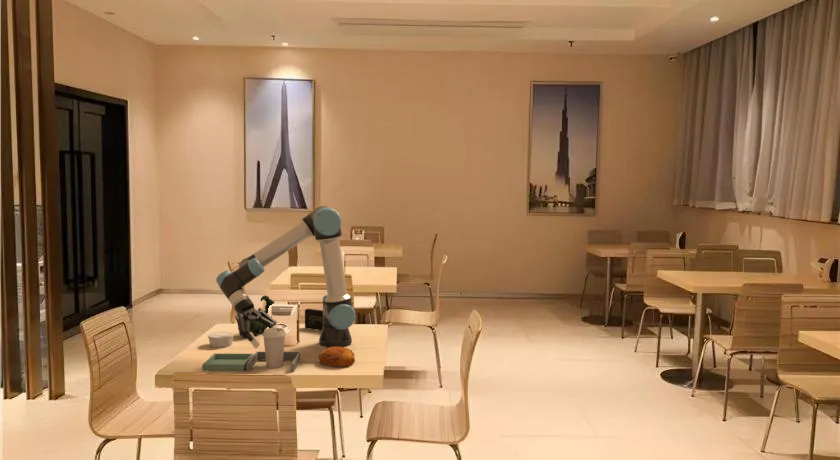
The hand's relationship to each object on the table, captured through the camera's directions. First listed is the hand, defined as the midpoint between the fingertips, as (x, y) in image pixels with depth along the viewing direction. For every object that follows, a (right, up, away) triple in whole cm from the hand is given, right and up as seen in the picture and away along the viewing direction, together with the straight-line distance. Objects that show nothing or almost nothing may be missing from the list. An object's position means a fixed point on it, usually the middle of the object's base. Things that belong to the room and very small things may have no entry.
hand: (269, 343), depth 279 cm
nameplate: (+13, -4, +64) cm, 66 cm away
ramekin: (-29, -7, +33) cm, 45 cm away
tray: (-17, -9, +1) cm, 19 cm away
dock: (+2, -9, 0) cm, 10 cm away
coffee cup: (+2, -10, 0) cm, 10 cm away
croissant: (+28, -10, +6) cm, 30 cm away
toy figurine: (-19, -5, +54) cm, 57 cm away
